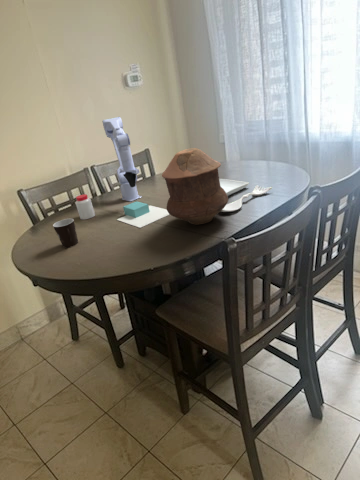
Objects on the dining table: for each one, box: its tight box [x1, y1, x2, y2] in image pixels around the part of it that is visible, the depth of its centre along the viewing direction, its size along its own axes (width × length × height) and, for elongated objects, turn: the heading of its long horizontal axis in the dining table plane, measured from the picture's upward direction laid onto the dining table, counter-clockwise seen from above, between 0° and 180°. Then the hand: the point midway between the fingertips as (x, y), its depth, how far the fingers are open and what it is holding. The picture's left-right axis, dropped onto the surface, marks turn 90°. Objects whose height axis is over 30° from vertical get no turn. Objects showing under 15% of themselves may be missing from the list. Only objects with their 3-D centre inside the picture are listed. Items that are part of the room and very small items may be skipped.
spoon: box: [220, 184, 273, 213], centre depth 157 cm, size 9×32×4 cm, turn 133°
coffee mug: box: [52, 218, 79, 249], centre depth 144 cm, size 12×9×10 cm
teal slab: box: [122, 200, 150, 218], centre depth 167 cm, size 4×8×10 cm
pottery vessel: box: [161, 147, 229, 225], centre depth 140 cm, size 26×26×30 cm
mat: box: [116, 205, 171, 229], centre depth 163 cm, size 20×20×1 cm
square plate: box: [219, 178, 250, 197], centre depth 177 cm, size 27×27×4 cm
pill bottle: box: [75, 193, 96, 220], centre depth 176 cm, size 8×8×11 cm
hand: (133, 186), depth 175 cm, fingers closed
